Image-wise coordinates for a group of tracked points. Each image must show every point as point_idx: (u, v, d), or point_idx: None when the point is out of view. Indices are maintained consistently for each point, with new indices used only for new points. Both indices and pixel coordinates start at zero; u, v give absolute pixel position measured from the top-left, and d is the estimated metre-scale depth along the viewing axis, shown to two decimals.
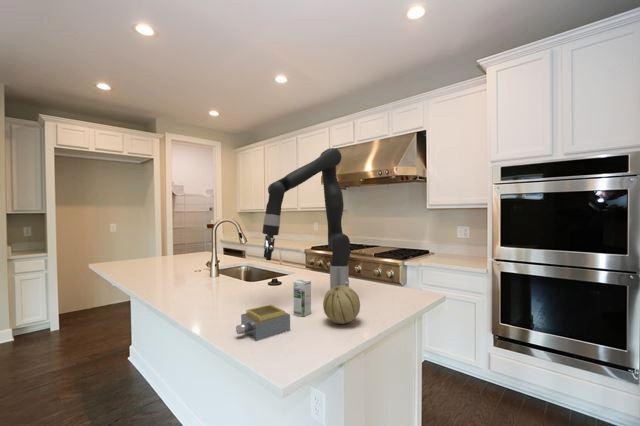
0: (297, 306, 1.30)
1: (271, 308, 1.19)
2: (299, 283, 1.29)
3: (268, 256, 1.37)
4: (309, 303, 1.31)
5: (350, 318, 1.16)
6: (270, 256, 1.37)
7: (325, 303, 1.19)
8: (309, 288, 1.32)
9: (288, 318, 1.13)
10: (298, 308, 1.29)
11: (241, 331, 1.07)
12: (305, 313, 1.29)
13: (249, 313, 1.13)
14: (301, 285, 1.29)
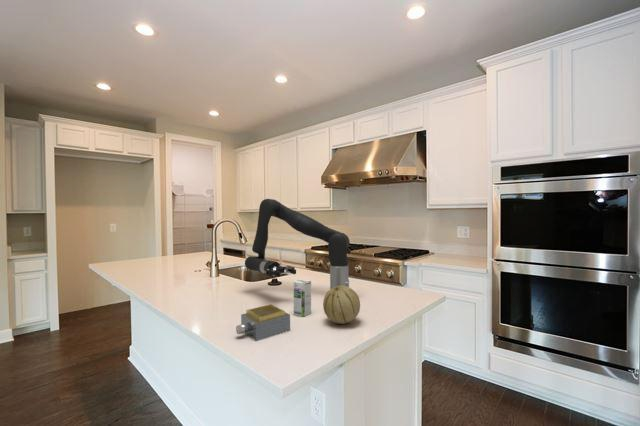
0: (297, 306, 1.30)
1: (271, 308, 1.19)
2: (299, 283, 1.29)
3: (275, 274, 1.39)
4: (309, 303, 1.31)
5: (350, 318, 1.16)
6: (275, 272, 1.39)
7: (325, 303, 1.19)
8: (309, 288, 1.32)
9: (288, 318, 1.13)
10: (298, 308, 1.29)
11: (241, 331, 1.07)
12: (305, 313, 1.29)
13: (249, 313, 1.13)
14: (301, 285, 1.29)
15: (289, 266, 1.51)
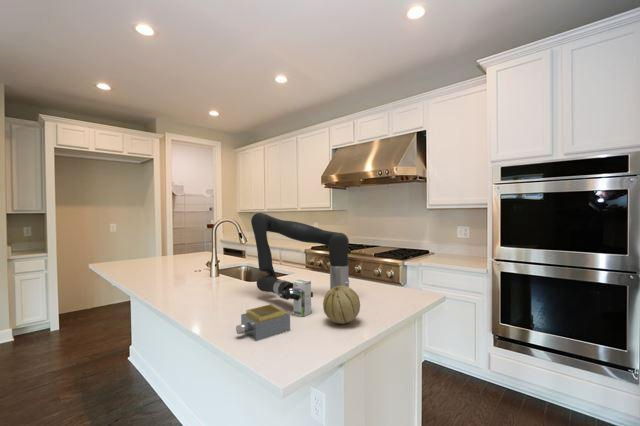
0: (297, 306, 1.30)
1: (271, 308, 1.19)
2: (299, 283, 1.29)
3: (293, 298, 1.29)
4: (309, 303, 1.31)
5: (350, 318, 1.16)
6: (293, 296, 1.29)
7: (325, 303, 1.19)
8: (309, 288, 1.32)
9: (288, 318, 1.13)
10: (298, 308, 1.29)
11: (241, 331, 1.07)
12: (305, 313, 1.29)
13: (249, 313, 1.13)
14: (301, 285, 1.29)
15: None
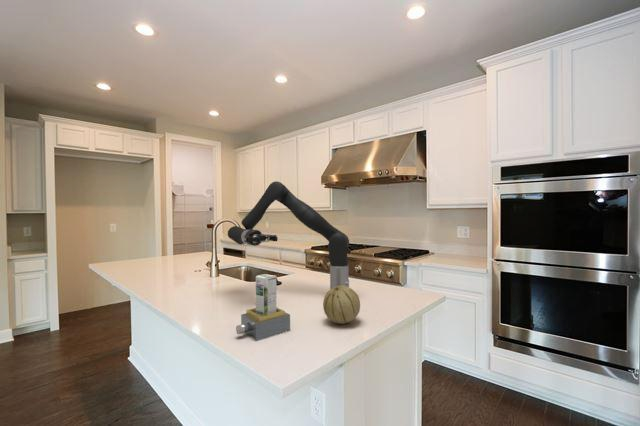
0: (260, 305, 1.12)
1: None
2: (261, 278, 1.12)
3: (255, 240, 1.34)
4: (273, 302, 1.14)
5: (350, 318, 1.16)
6: (255, 238, 1.34)
7: (325, 303, 1.19)
8: (274, 284, 1.14)
9: (288, 318, 1.13)
10: (260, 307, 1.12)
11: (241, 331, 1.07)
12: (268, 313, 1.12)
13: (249, 313, 1.13)
14: (264, 280, 1.11)
15: (271, 235, 1.46)
